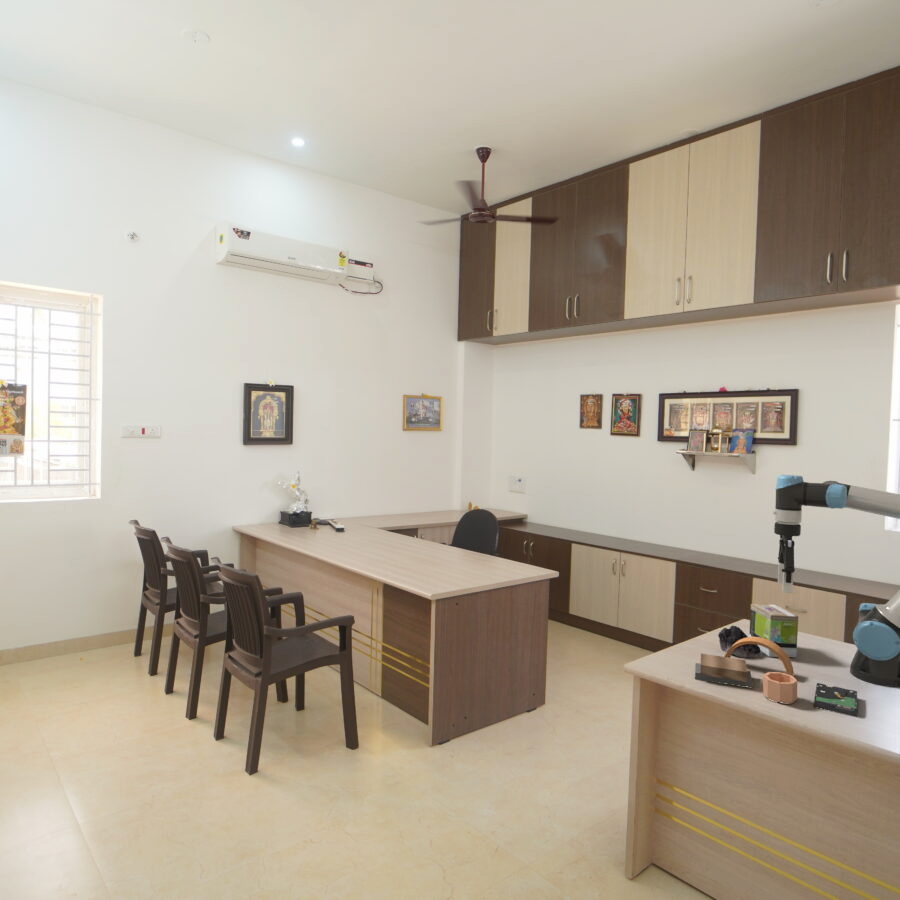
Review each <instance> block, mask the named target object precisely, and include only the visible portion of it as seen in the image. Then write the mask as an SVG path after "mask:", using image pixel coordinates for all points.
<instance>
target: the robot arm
mask: <svg viewBox="0 0 900 900" xmlns="http://www.w3.org/2000/svg"><path fill="white" fill-rule="evenodd" d="M803 506H804V507H814V508H815V507H816V508H818V507H819V508H828V509H841V510H842V509H845V508H846V509H851V510H856V511H861V512H864V513H871V514H874V515H879V516H884V517H888V518H893V519H898V520H900V494H899V493H895V492H894V493H893V492H889V491H884V490H879V489H874V488H867V487H863V486H857V485H849V484H846V483H843V482H841V483H840V482H838V481H837V480H836V481H835V480H826V481H823V482H821V483H820V482H808V481H807V482H806V481H804V477H803V476H802V475H796V474H780V475H778V476H777V477H776V487H775V506H774V507H775V511H773V512H772V514H773V515H774V517H775V518H774V521H776V522H775V523H774V527H773V529H774V530H773V531H774V532H773V533H774V534H775V535H779V537H780V538H779V541H778V543H779V547H778V548H779V549H778V557H777V560H778V565H777V566H778V567H777V568H778V569H777V584H782V593H785V594H793V589H794V587H793V586H794V573H795V571H796V569H795V540H793V537H799V536H801V532H802V530H801V529H802V525H801V523H802V513H803V510H802V507H803ZM858 613H859V614H858V615H859V616H858V622H857V624H856V626H854V629H853V631H852V639H853V643H854V646H855V647H856V652H855V653H854V656H853V658H852V660H851V662H850V665H849V666H850V667H849V673H850V674H851V675H852V676H853V677H856V678H857V679H860V680H862V681H865V682H868V683H871V684H874V685H875V684H876V685H880V686H887V687H900V589H899V590H898V591H897V592H896V593H895V594H894V595H893V596H892V597H891V598H890V599H889V600H888V601H887V602H886V603H885V604H883V603H882V604H881V603H880V604H877V603H872V602H871V603H870V602H869V603H868V602H862V603H861V604H860V605H859V609H858Z"/></svg>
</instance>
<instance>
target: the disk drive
mask: <svg viewBox="0 0 900 900" xmlns="http://www.w3.org/2000/svg"><path fill="white" fill-rule="evenodd" d="M815 687H816V689H815V694H814V700H813V708H815V707H818V708H817V709H820V708H822V709H821V710H824V709H825V711H828V710H829V712H833V711H834V713H837V714H841V715H847V716H852V717H854V718H857V715H858V691H857V690H853V689H848V688H843V687H838V686H828V685H826V684H825V683H821V682H820V683H819V682H817V683H816V686H815Z"/></svg>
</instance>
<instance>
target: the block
mask: <svg viewBox="0 0 900 900" xmlns="http://www.w3.org/2000/svg"><path fill="white" fill-rule="evenodd" d="M700 669H701V662H698V663H697V662H695V669H694V680H698V679H700V681H704V680H706V682H710V681H713V682H712V683H717V682H720V683H719V684H723V683H727V684H726V685H729V684H734V685H733V686H735V685H740V686H739V687H741V686H748V687H752V688H753V679H752V673H751V671H750V670H747V682H744V681H737V680H731V679H725V678H718V677H712V676H706V675H700ZM748 687H747V688H748Z"/></svg>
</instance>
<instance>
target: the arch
mask: <svg viewBox="0 0 900 900" xmlns="http://www.w3.org/2000/svg"><path fill="white" fill-rule="evenodd" d="M745 644H756V645H760V646H763V647H765V648H767V649H769V650H771V651H772V652H773V653H775V654H776V655H777V656H778V657H777V658H779V660H780V661H781V662H782V664H783V666H784V669H785V672H786V674H788V675H791V676H793V677H794V675H793V674H795V673H794V666H793V664H792V661H791V658H789V657H788V656H787V654H786V653H785V652H784V651H783V650H782V648H781V647H779V646H778V645H777V644H775V643H773V642H772V641H770V640H767V639H765V638H761V637H749V636H747V638H743V639H741V640H739V641H737V642H736V643H735V644H734V645H733V646H732V647H731V648H730V649H729V650H728V651H727V653H726V652H725V654H724V656H723V657H728V658H732V657H731V656H732V652H733V650H734V649H735V648H737V647H739V646H741V645H745Z"/></svg>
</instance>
